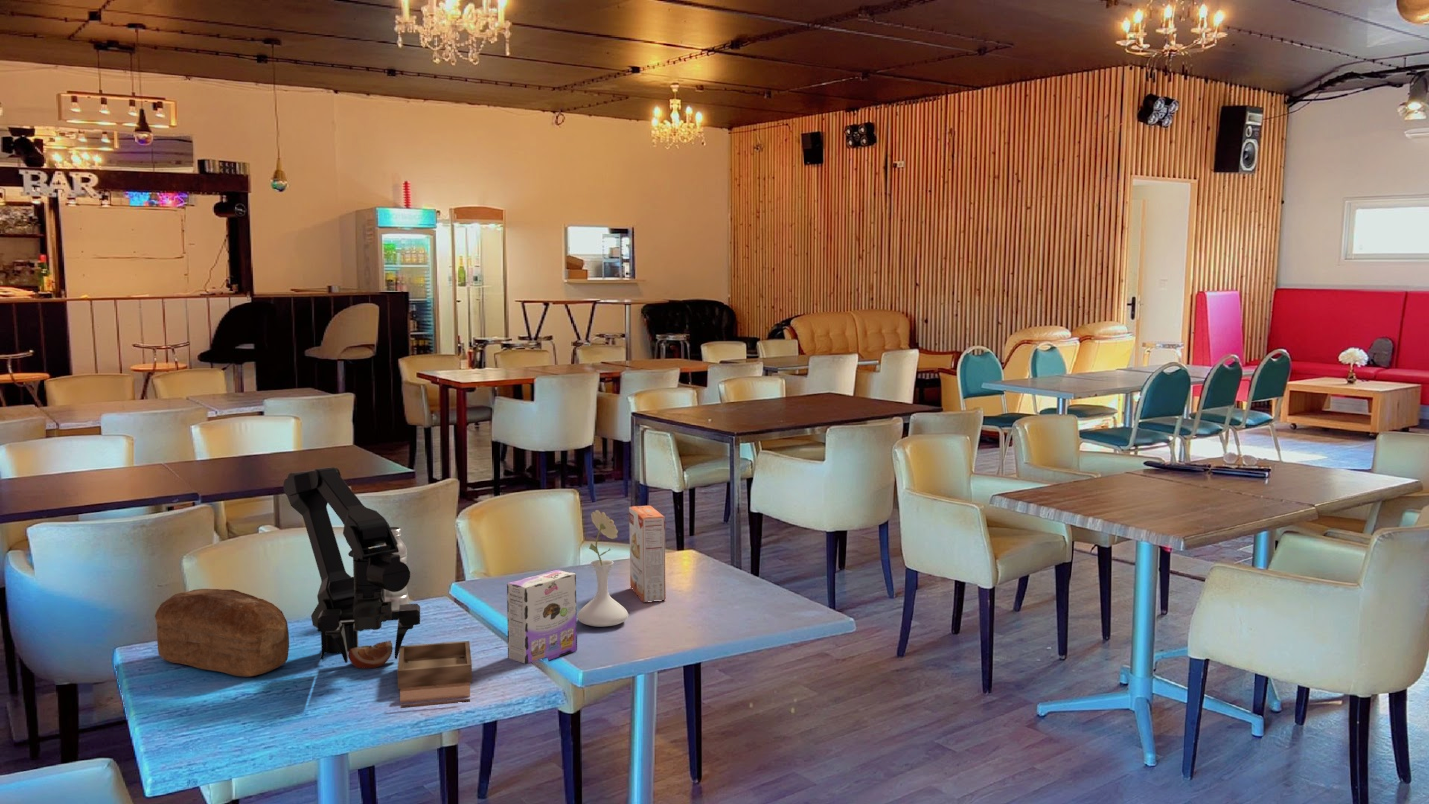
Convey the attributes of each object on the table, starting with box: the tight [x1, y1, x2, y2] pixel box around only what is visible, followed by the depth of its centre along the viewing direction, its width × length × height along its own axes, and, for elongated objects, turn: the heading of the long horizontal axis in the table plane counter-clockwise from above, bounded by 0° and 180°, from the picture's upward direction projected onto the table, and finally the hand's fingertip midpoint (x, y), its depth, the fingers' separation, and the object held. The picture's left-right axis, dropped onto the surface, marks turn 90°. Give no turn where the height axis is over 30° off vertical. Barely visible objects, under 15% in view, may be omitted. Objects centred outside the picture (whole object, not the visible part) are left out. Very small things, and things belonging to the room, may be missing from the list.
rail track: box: [399, 682, 471, 709], centre depth 202 cm, size 12×28×3 cm, turn 15°
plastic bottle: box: [379, 526, 411, 610], centre depth 241 cm, size 6×7×20 cm
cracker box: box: [628, 505, 667, 603], centre depth 258 cm, size 14×6×21 cm, turn 17°
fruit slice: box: [348, 640, 393, 670], centre depth 206 cm, size 8×7×5 cm
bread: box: [154, 588, 290, 678], centre depth 209 cm, size 12×28×14 cm, turn 65°
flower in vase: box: [577, 509, 629, 628], centre depth 236 cm, size 13×11×25 cm
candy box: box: [506, 569, 578, 665], centre depth 213 cm, size 14×6×16 cm, turn 141°
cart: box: [397, 640, 473, 690], centre depth 199 cm, size 13×14×4 cm
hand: (371, 660), depth 207 cm, fingers open, 9 cm apart
